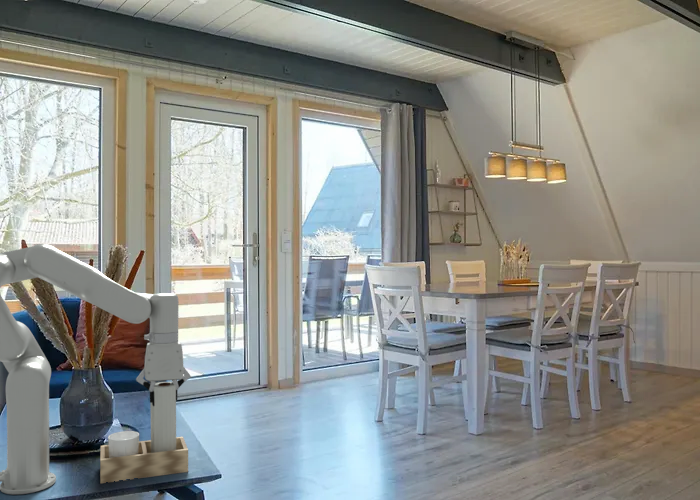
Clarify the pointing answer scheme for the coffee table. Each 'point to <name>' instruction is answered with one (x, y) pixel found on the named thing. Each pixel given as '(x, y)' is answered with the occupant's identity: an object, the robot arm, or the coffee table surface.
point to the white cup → (123, 444)
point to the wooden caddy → (143, 462)
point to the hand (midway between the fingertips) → (163, 403)
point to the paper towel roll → (163, 417)
